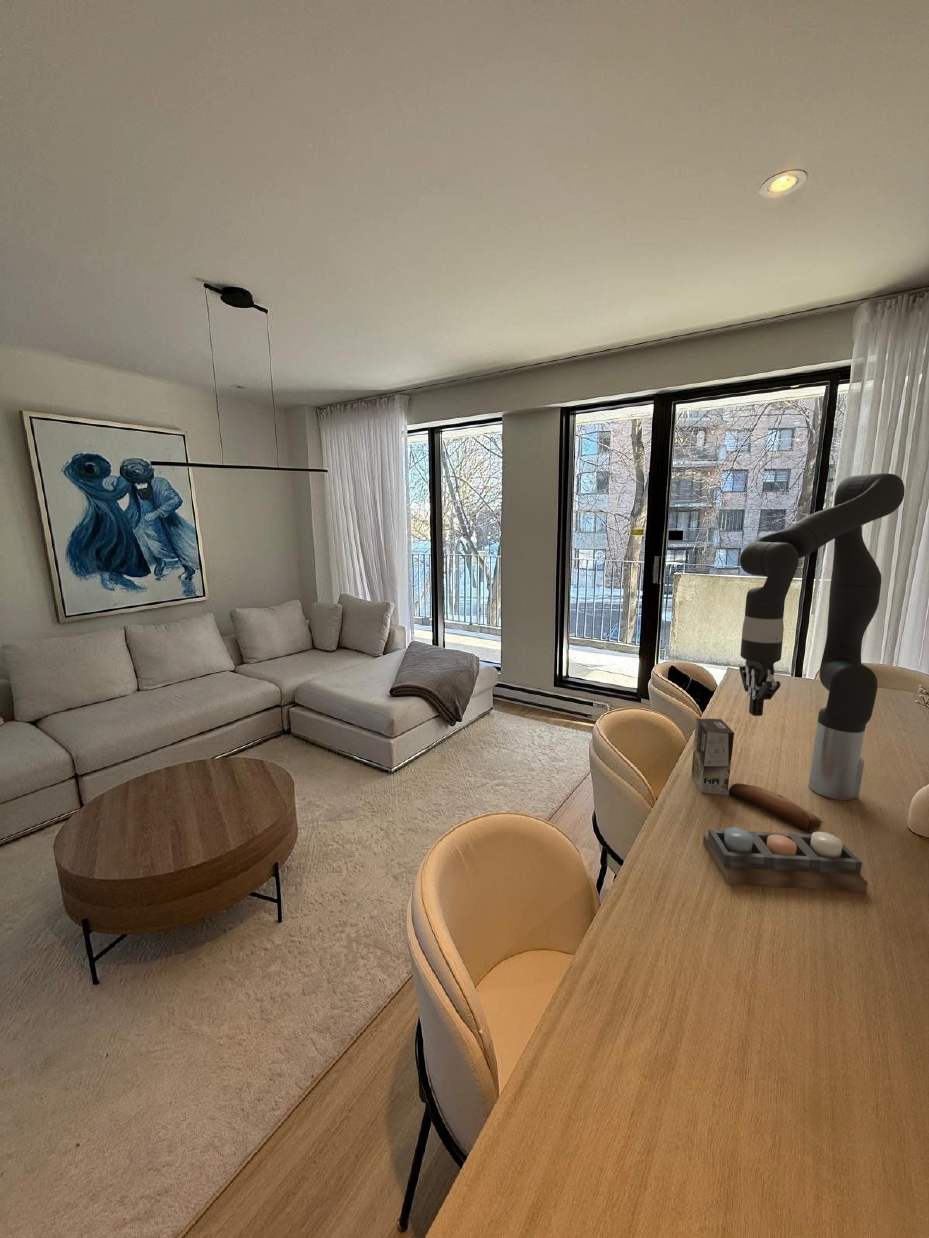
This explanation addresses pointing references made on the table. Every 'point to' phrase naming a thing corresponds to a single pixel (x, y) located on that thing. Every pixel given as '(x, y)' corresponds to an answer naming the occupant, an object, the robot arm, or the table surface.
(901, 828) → the table surface
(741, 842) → the slate button
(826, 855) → the cream button
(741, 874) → the gray compartment tray
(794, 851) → the tan rounded oval piece
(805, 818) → the sunglasses case
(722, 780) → the coffee box
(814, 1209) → the table surface
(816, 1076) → the table surface
